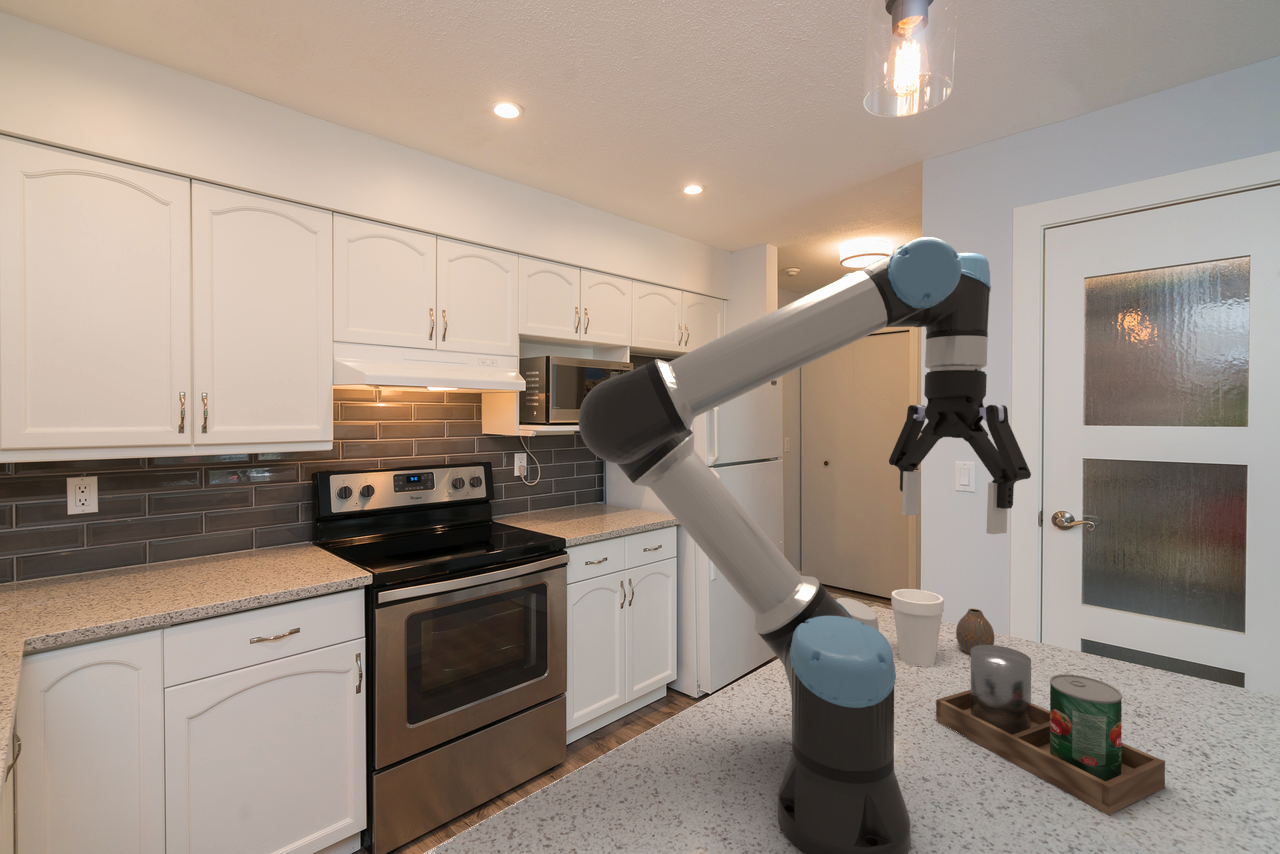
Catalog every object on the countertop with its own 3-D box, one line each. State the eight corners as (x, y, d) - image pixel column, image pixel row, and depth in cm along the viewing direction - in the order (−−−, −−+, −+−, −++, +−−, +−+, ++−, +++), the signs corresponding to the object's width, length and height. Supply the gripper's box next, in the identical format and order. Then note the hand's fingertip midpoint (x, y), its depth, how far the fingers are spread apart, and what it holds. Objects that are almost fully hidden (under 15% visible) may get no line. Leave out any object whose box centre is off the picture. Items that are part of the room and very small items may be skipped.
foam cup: (932, 651, 122) (932, 589, 121) (951, 671, 112) (951, 604, 112) (885, 650, 122) (885, 588, 122) (900, 669, 113) (900, 602, 113)
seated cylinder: (1029, 745, 85) (1030, 670, 85) (967, 728, 90) (967, 657, 90) (1031, 721, 92) (1032, 652, 92) (973, 707, 97) (973, 641, 96)
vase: (964, 643, 126) (964, 602, 126) (999, 653, 121) (999, 610, 120) (950, 651, 121) (950, 609, 121) (986, 662, 116) (986, 618, 116)
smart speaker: (878, 692, 104) (878, 614, 104) (825, 680, 109) (825, 606, 109) (885, 671, 113) (885, 599, 112) (836, 661, 117) (836, 592, 117)
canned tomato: (1137, 784, 76) (1138, 701, 76) (1075, 784, 76) (1076, 701, 76) (1092, 749, 84) (1092, 674, 84) (1036, 749, 84) (1036, 674, 84)
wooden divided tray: (1164, 787, 77) (1165, 761, 77) (1108, 815, 72) (1109, 787, 72) (988, 704, 99) (988, 684, 99) (936, 721, 94) (936, 699, 94)
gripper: (1068, 365, 71) (1061, 540, 71) (903, 375, 94) (899, 507, 94) (1026, 362, 68) (1020, 544, 68) (867, 373, 91) (863, 509, 91)
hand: (950, 523), depth 81 cm, fingers open, 13 cm apart
